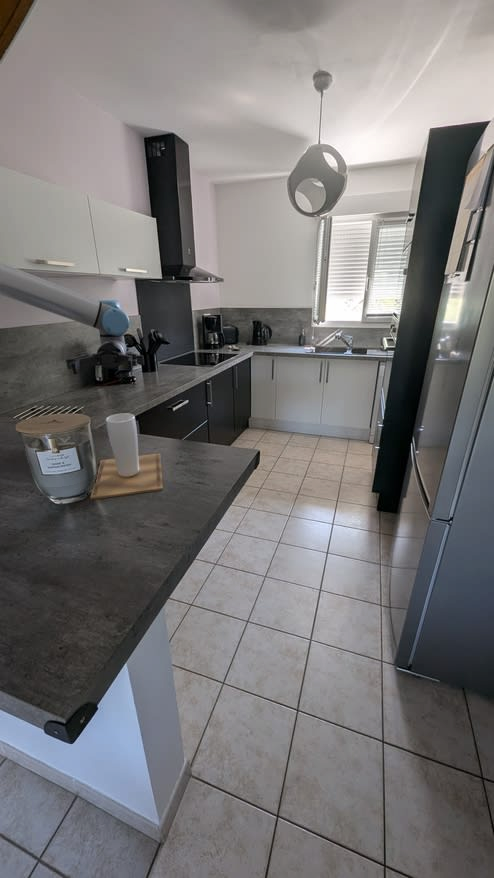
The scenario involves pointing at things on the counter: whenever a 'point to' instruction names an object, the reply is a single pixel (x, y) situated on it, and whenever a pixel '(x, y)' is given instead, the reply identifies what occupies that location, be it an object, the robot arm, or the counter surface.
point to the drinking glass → (124, 443)
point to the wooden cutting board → (128, 478)
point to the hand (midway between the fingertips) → (102, 367)
